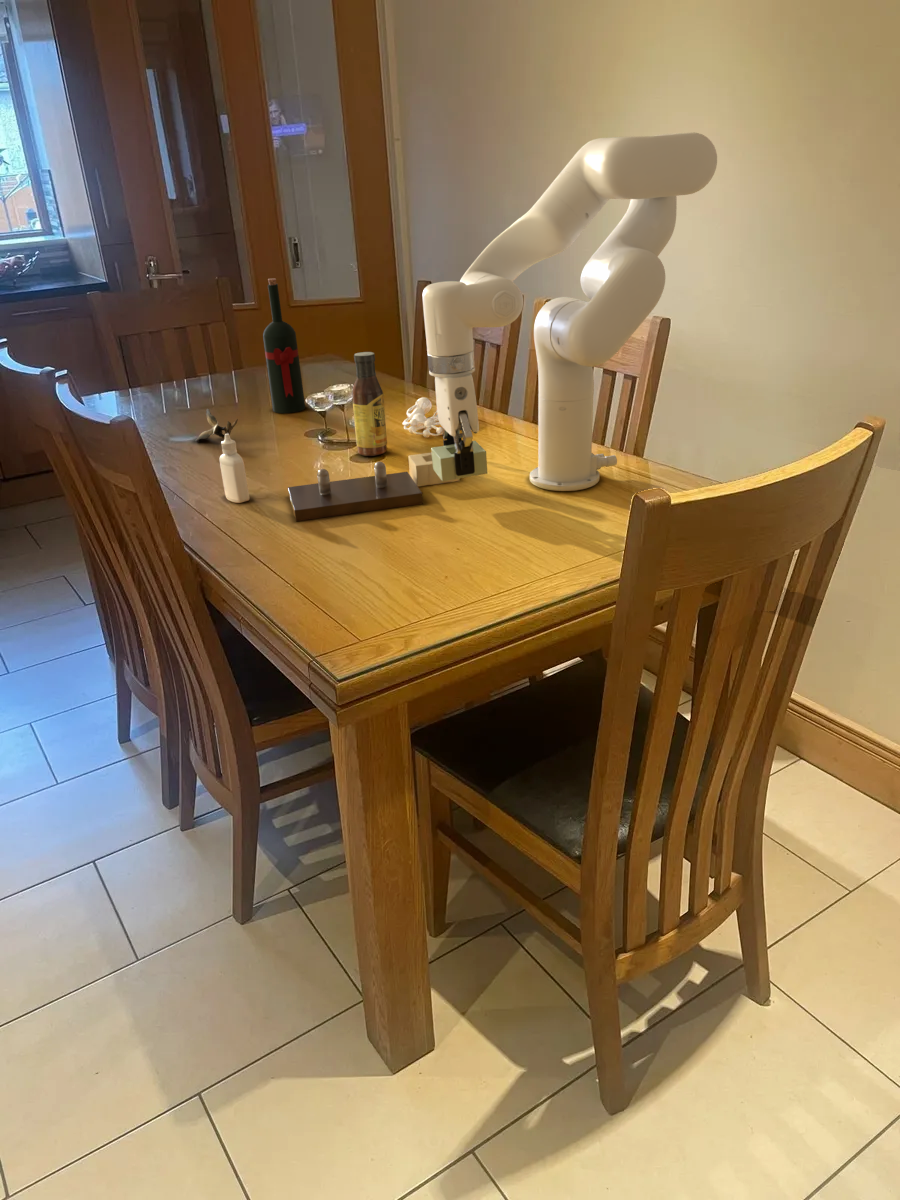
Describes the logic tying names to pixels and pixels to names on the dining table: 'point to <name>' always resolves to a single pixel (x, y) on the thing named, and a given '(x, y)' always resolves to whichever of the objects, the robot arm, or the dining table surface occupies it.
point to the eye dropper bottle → (233, 472)
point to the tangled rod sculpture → (422, 419)
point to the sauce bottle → (368, 407)
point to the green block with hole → (446, 461)
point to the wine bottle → (282, 359)
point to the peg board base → (353, 494)
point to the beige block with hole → (424, 470)
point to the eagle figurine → (215, 427)
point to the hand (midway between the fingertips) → (459, 466)
